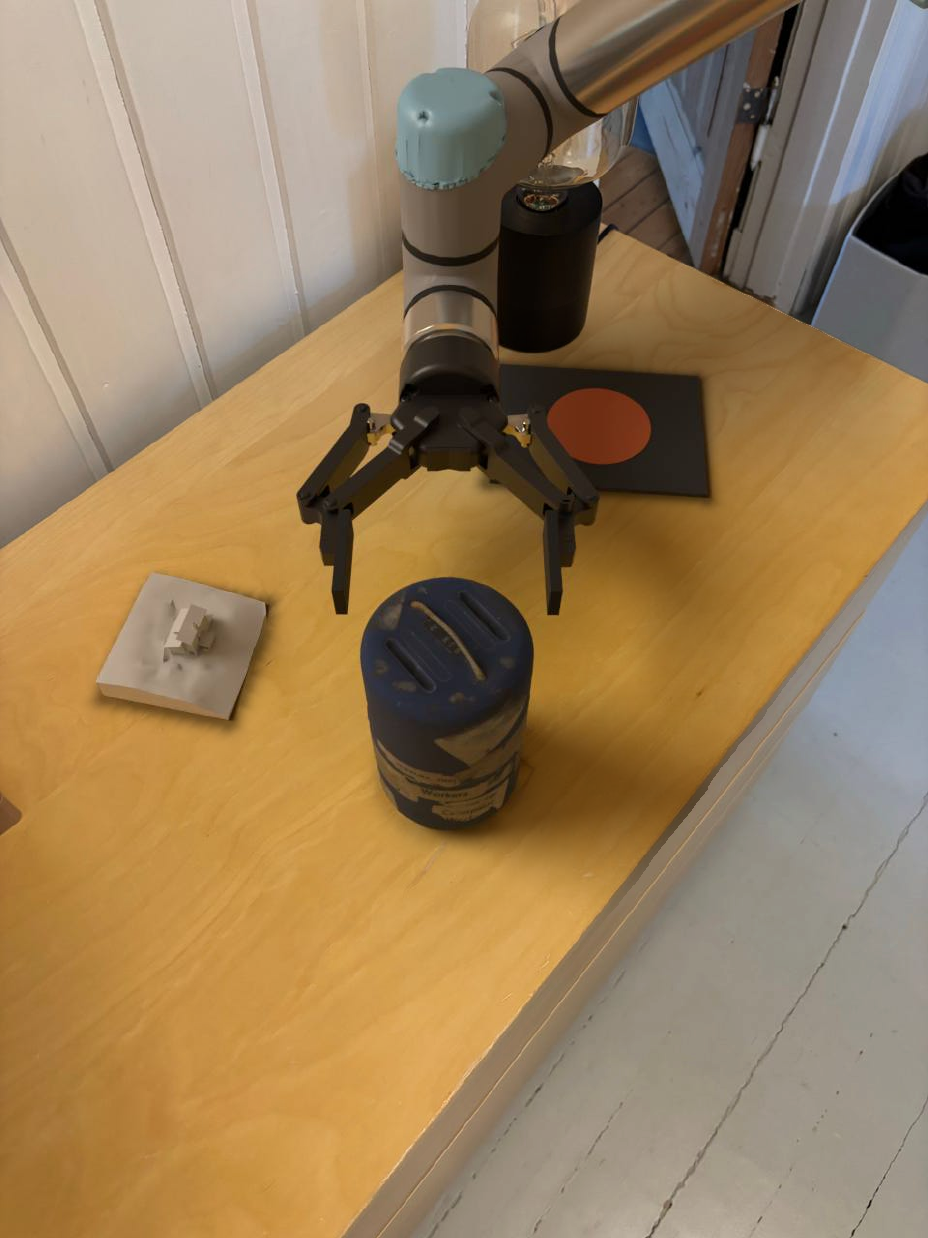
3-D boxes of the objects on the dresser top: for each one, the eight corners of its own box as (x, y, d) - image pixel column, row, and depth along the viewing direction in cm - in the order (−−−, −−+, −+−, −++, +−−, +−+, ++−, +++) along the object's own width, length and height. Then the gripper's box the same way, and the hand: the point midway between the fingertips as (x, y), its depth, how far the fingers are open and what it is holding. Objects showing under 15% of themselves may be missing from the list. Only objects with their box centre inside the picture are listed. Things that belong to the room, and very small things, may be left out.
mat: (697, 379, 85) (699, 375, 84) (706, 497, 77) (708, 493, 77) (499, 366, 85) (499, 362, 85) (489, 483, 78) (489, 479, 77)
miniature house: (259, 718, 66) (249, 693, 63) (98, 726, 65) (80, 700, 62) (269, 579, 72) (261, 549, 69) (123, 585, 72) (107, 555, 69)
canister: (410, 861, 60) (394, 740, 45) (358, 739, 65) (328, 592, 50) (543, 804, 63) (570, 670, 47) (483, 689, 67) (491, 534, 52)
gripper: (607, 406, 74) (634, 635, 62) (291, 405, 74) (260, 634, 62) (622, 330, 68) (655, 569, 56) (276, 328, 67) (238, 567, 56)
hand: (447, 603), depth 59 cm, fingers open, 13 cm apart
